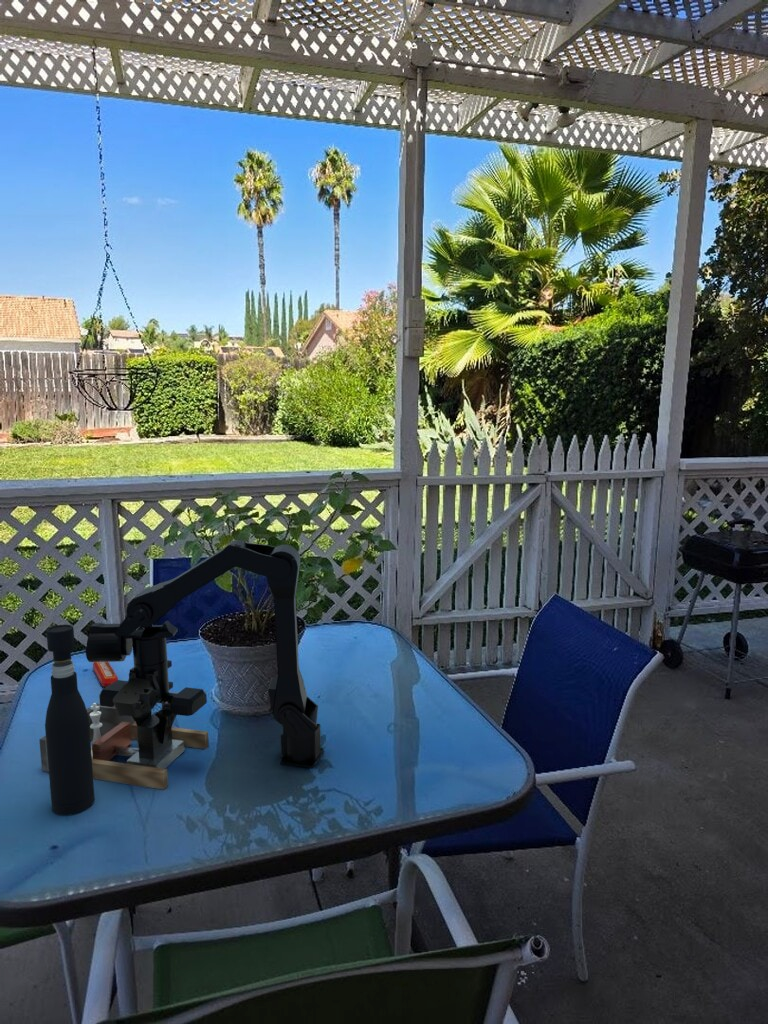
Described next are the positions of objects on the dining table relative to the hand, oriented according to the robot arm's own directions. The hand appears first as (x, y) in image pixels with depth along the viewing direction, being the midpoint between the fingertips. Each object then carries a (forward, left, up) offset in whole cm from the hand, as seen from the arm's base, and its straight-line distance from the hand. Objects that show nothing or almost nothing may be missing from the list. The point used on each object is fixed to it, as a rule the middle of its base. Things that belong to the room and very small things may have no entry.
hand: (155, 741), depth 124 cm
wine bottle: (+6, +15, -4) cm, 17 cm away
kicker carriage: (+4, 0, -4) cm, 5 cm away
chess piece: (+13, 0, -4) cm, 13 cm away
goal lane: (+7, 0, -4) cm, 8 cm away
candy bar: (+35, -32, -5) cm, 47 cm away
